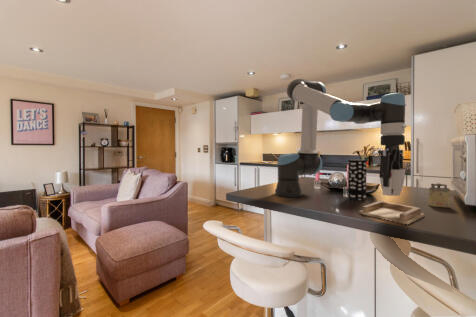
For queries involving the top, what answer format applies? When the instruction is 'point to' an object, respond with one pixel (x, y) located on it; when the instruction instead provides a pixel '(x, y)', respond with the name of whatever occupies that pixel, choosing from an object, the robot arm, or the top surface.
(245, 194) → the top surface
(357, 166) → the spotted tube
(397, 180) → the cup
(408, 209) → the rest
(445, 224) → the top surface
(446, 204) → the olive box with handle
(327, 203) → the top surface
